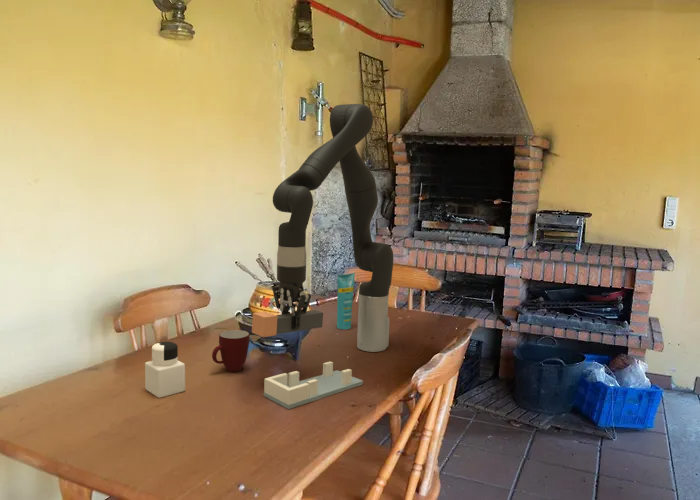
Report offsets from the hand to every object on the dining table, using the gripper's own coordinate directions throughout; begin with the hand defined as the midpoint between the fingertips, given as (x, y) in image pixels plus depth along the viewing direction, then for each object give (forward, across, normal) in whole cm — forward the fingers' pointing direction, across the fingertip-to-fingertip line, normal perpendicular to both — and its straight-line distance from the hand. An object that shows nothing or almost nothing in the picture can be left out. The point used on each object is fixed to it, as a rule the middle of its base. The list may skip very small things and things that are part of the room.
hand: (290, 327), depth 156 cm
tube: (+14, +26, -44) cm, 53 cm away
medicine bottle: (+14, +12, +29) cm, 35 cm away
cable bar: (+1, 0, +1) cm, 1 cm away
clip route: (+14, -11, 0) cm, 17 cm away
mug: (+14, +14, +9) cm, 22 cm away
